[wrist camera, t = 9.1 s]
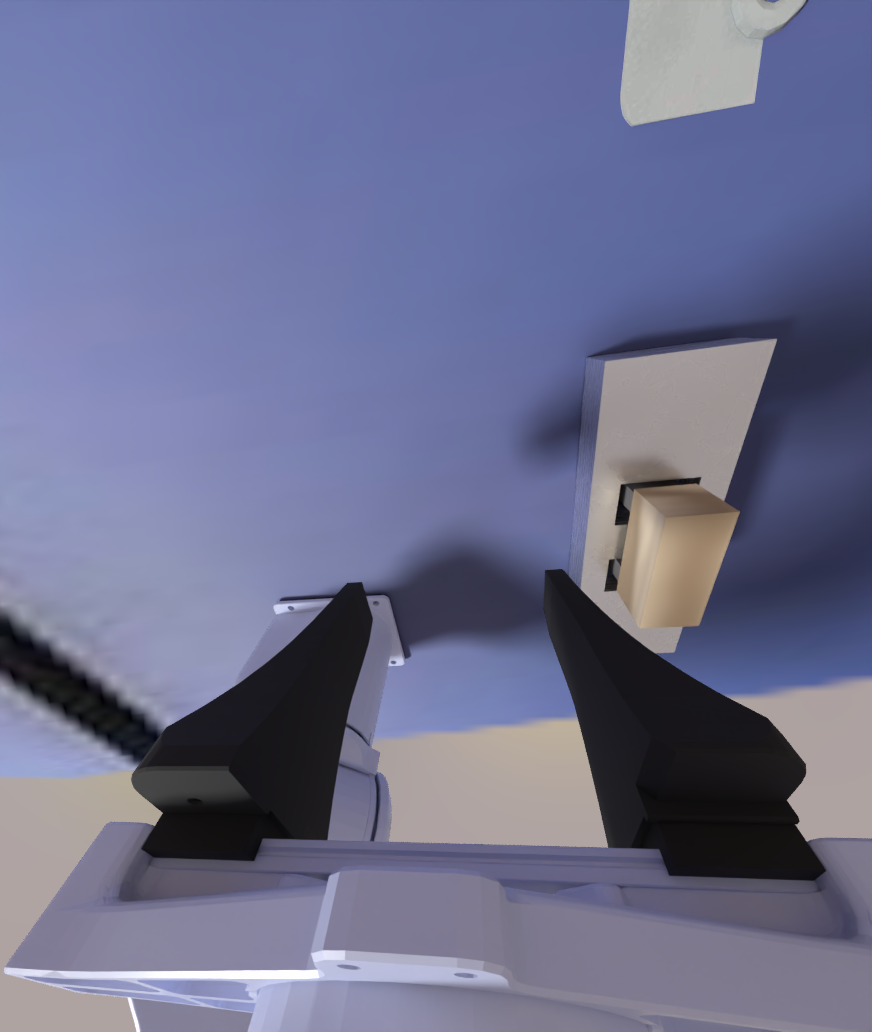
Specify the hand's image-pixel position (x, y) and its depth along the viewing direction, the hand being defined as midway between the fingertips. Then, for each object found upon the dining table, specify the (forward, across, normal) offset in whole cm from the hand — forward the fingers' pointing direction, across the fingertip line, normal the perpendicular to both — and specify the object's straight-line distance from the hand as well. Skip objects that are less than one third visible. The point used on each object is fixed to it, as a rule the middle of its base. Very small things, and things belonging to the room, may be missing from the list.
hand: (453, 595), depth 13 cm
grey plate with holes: (+9, -11, +3) cm, 15 cm away
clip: (+9, -11, +3) cm, 15 cm away
